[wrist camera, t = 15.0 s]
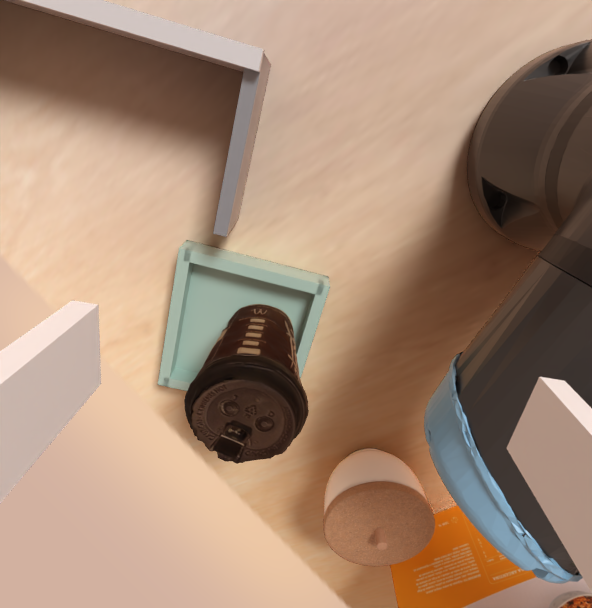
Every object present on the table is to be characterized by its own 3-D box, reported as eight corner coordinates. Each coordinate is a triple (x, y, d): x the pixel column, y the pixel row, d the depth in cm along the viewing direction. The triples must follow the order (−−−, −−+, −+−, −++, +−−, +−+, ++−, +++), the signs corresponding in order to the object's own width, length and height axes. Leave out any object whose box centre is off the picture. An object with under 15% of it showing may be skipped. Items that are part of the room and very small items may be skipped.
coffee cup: (237, 381, 42) (211, 485, 30) (199, 311, 39) (153, 396, 27) (318, 353, 41) (324, 451, 29) (285, 279, 37) (276, 353, 26)
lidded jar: (422, 494, 49) (447, 574, 40) (332, 510, 50) (338, 590, 41) (407, 422, 45) (432, 495, 36) (310, 442, 46) (312, 516, 37)
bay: (271, 63, 31) (263, 49, 25) (238, 219, 36) (224, 239, 30) (-64, -39, 29) (-165, -82, 23) (-52, 141, 34) (-132, 146, 28)
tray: (328, 276, 38) (330, 286, 36) (289, 398, 43) (288, 414, 41) (186, 240, 37) (179, 247, 34) (165, 370, 42) (157, 384, 40)
